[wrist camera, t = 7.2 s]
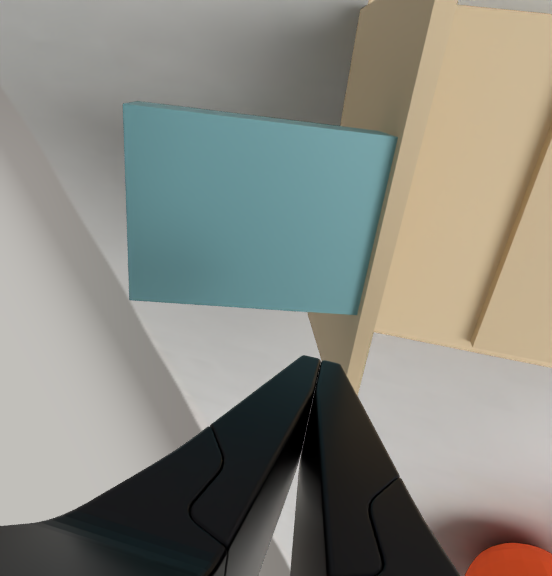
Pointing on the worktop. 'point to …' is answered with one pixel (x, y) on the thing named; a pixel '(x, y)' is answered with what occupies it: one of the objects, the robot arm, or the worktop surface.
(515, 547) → the clementine
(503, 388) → the worktop surface
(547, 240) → the carton
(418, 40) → the flap
